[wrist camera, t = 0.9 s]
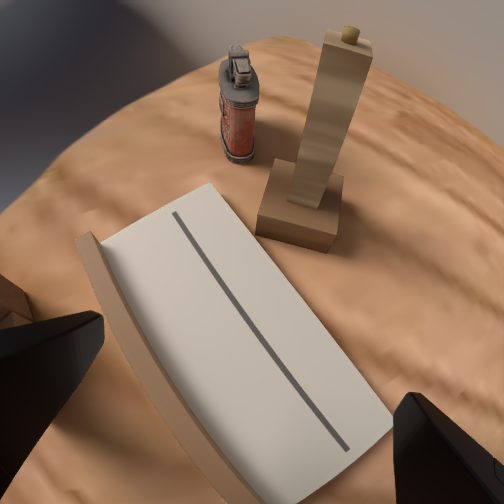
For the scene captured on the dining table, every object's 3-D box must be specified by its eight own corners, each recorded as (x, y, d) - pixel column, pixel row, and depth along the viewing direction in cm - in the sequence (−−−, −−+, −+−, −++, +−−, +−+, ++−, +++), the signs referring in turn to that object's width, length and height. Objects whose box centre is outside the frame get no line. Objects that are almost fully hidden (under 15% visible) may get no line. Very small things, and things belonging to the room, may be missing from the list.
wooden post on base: (326, 253, 24) (419, 73, 9) (255, 234, 25) (280, 32, 10) (334, 197, 27) (400, 31, 12) (271, 180, 27) (299, 2, 12)
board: (387, 421, 18) (411, 423, 15) (257, 517, 15) (261, 537, 12) (210, 192, 26) (208, 166, 23) (91, 260, 23) (74, 240, 20)
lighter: (217, 115, 32) (215, 37, 23) (247, 113, 32) (251, 36, 23) (224, 165, 28) (222, 76, 19) (259, 162, 28) (268, 74, 19)
